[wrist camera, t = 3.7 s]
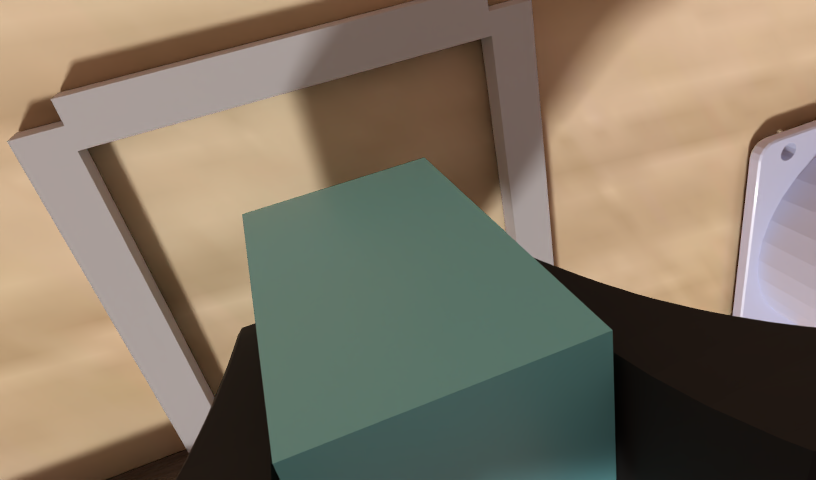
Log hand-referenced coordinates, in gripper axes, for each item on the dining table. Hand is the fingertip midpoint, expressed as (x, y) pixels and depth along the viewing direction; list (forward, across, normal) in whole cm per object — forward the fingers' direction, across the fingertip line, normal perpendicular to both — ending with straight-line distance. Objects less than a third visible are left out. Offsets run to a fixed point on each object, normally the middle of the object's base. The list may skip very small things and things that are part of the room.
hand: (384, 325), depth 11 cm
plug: (+1, 0, 0) cm, 1 cm away
